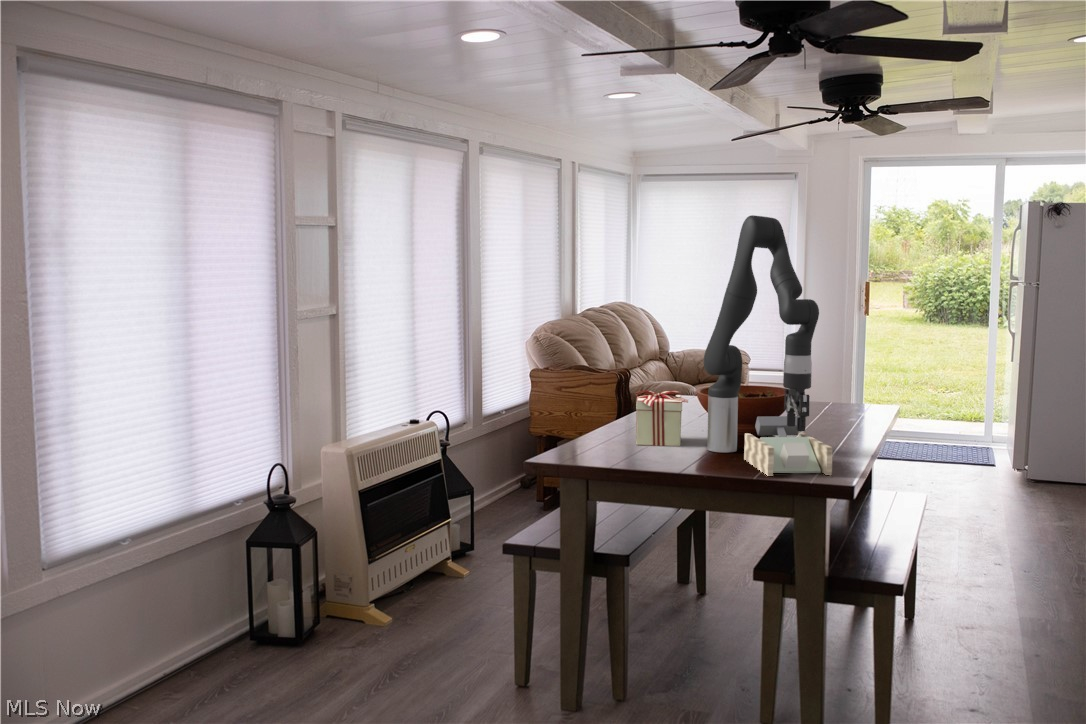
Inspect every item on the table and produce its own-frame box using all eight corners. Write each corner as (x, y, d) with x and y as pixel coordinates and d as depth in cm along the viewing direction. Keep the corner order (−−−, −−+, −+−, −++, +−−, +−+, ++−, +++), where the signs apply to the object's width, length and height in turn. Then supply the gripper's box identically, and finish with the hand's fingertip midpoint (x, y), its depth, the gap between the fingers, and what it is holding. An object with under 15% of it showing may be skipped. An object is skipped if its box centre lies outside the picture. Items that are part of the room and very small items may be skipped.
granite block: (780, 456, 269) (783, 443, 266) (801, 455, 269) (804, 443, 266) (784, 468, 265) (788, 455, 262) (805, 468, 265) (809, 455, 262)
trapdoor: (751, 426, 284) (754, 416, 281) (797, 426, 285) (800, 416, 282) (769, 480, 266) (772, 470, 264) (818, 479, 267) (821, 469, 265)
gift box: (636, 447, 304) (637, 394, 302) (632, 437, 322) (633, 387, 320) (689, 448, 303) (690, 395, 301) (683, 438, 321) (684, 387, 320)
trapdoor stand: (744, 459, 285) (744, 433, 284) (802, 459, 286) (803, 432, 285) (767, 476, 261) (768, 448, 260) (831, 476, 262) (832, 447, 261)
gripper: (819, 373, 256) (817, 433, 258) (802, 368, 271) (800, 424, 272) (792, 373, 256) (790, 433, 258) (776, 368, 270) (774, 424, 272)
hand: (795, 428), depth 265 cm, fingers open, 8 cm apart
